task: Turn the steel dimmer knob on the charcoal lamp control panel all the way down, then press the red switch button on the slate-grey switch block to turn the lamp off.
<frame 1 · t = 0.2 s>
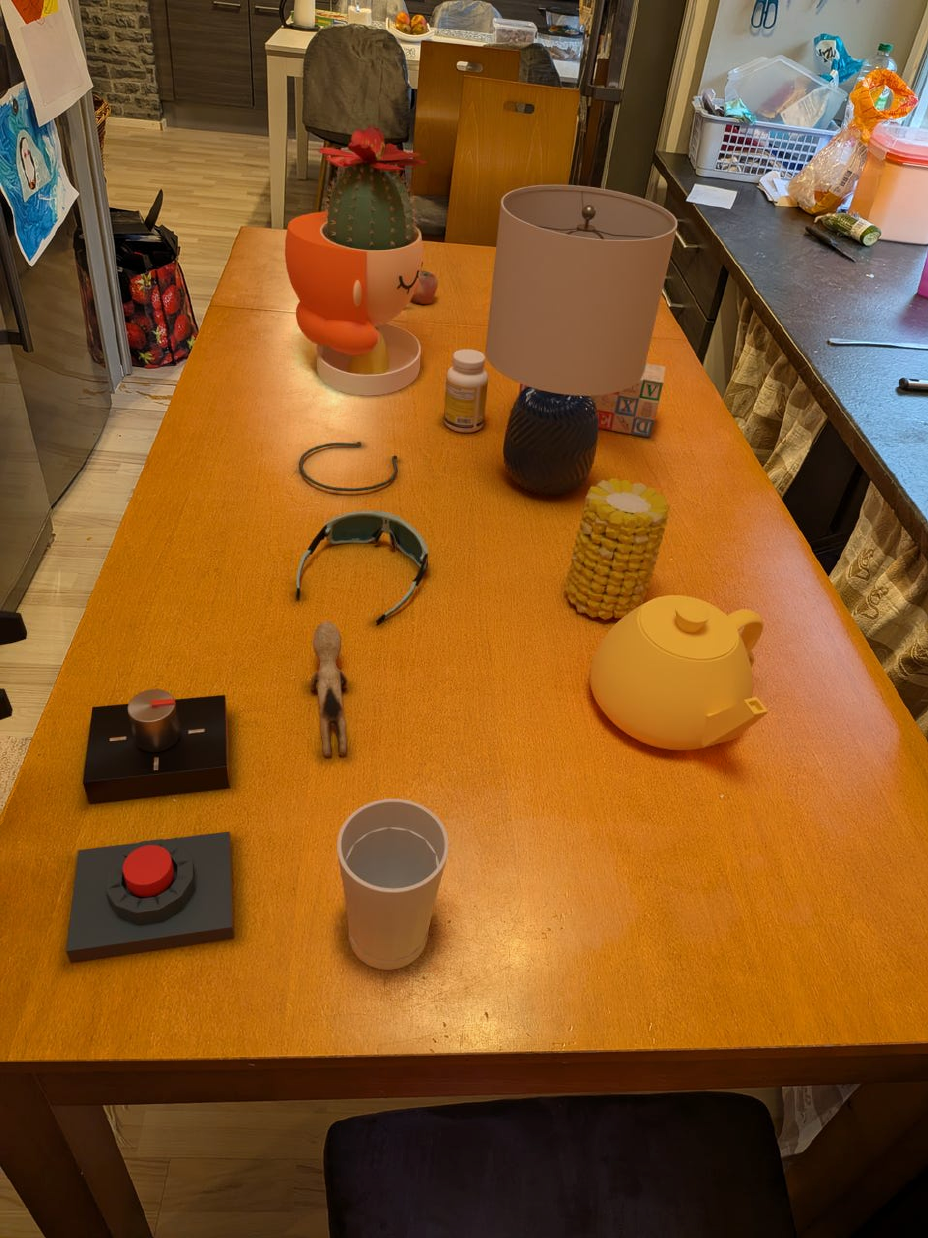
hand: (16, 662, 62), 21 cm above the table, tool horizontal, fingers open, 7 cm apart
pill bottle: (463, 425, 137), on the table
apple: (420, 303, 173), on the table
cup: (388, 934, 72), on the table
teapot: (681, 711, 94), on the table
food: (604, 598, 107), on the table
dimmer panel: (162, 757, 83), on the table
dimmer knob: (154, 719, 80), point 5 cm above the table, hinge at 0.0°
stack of blocks: (584, 418, 142), on the table
lamp: (543, 482, 126), on the table
switch button: (148, 871, 70), point 4 cm above the table, slide at 0.1 cm
potted cactus: (354, 366, 149), on the table
figurine: (329, 704, 90), on the table
sunglasses: (363, 578, 106), on the table
black headband: (348, 470, 124), on the table
switch block: (155, 899, 72), on the table
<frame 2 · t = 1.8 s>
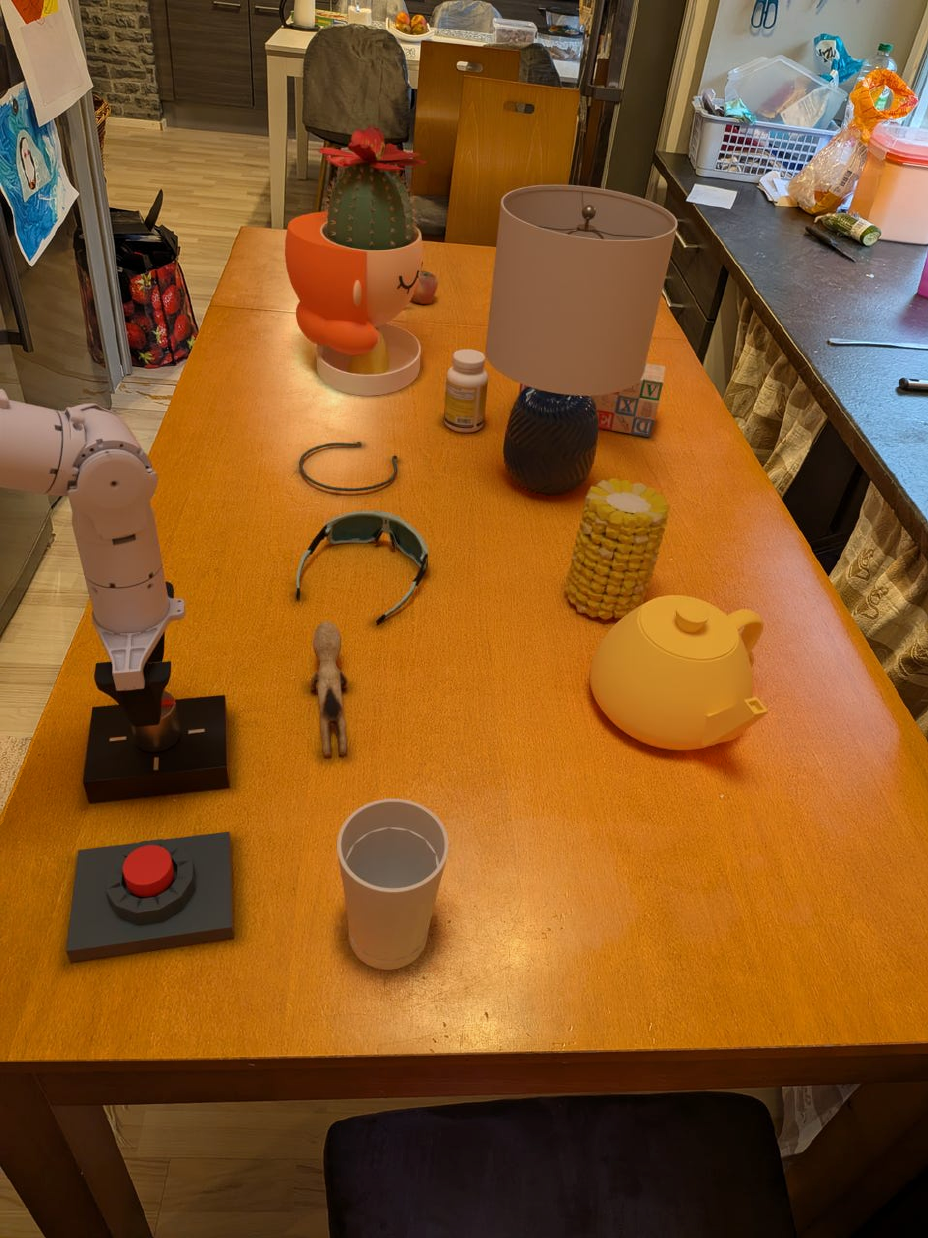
hand: (148, 690, 77), 9 cm above the table, tool pointing down, fingers open, 7 cm apart
nothing on the table moved.
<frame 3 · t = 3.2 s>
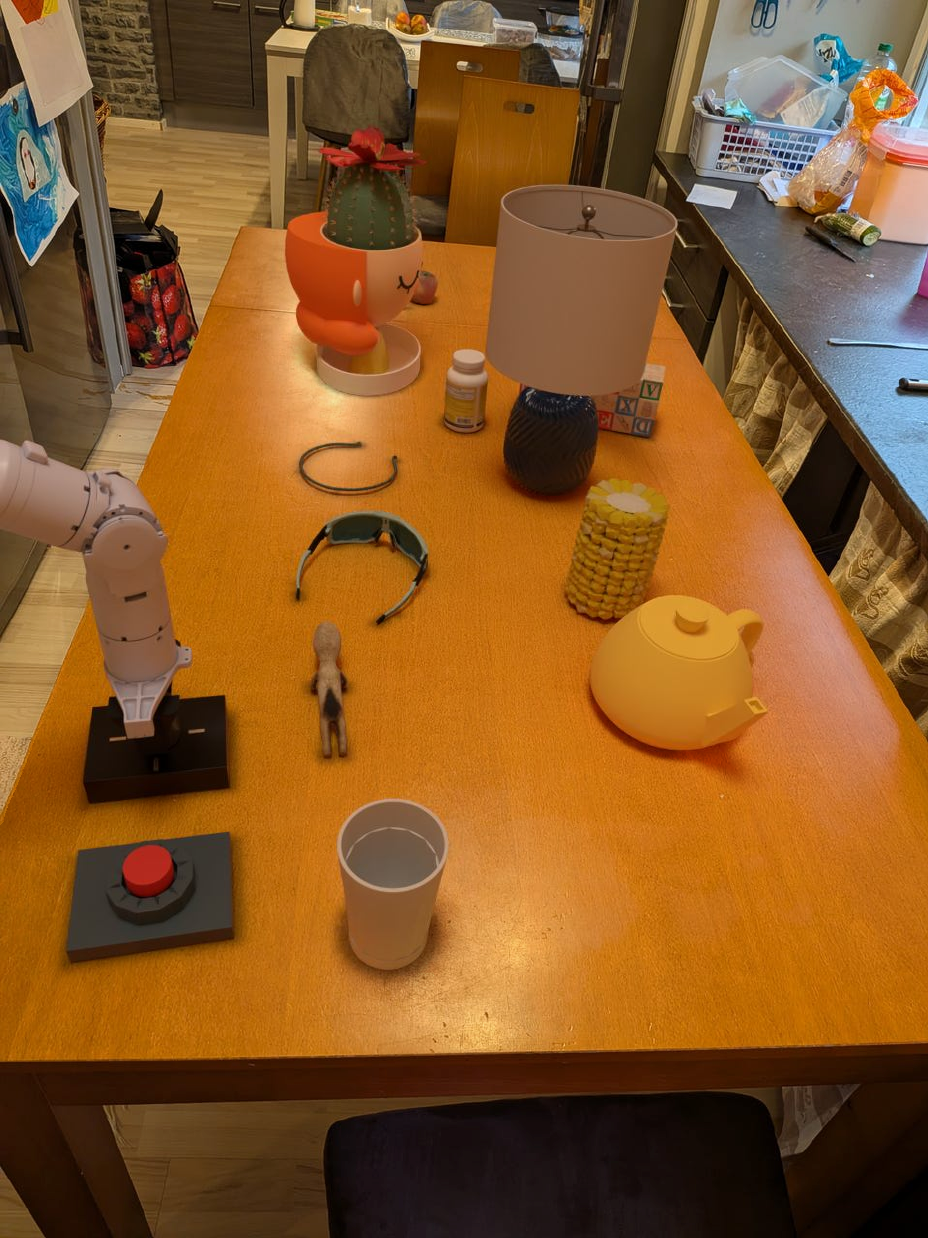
hand: (157, 732, 81), 4 cm above the table, tool pointing down, fingers closed on dimmer knob, 4 cm apart
dimmer knob: (154, 719, 80), point 5 cm above the table, hinge at -0.2°, touching gripper
everything else where it was.
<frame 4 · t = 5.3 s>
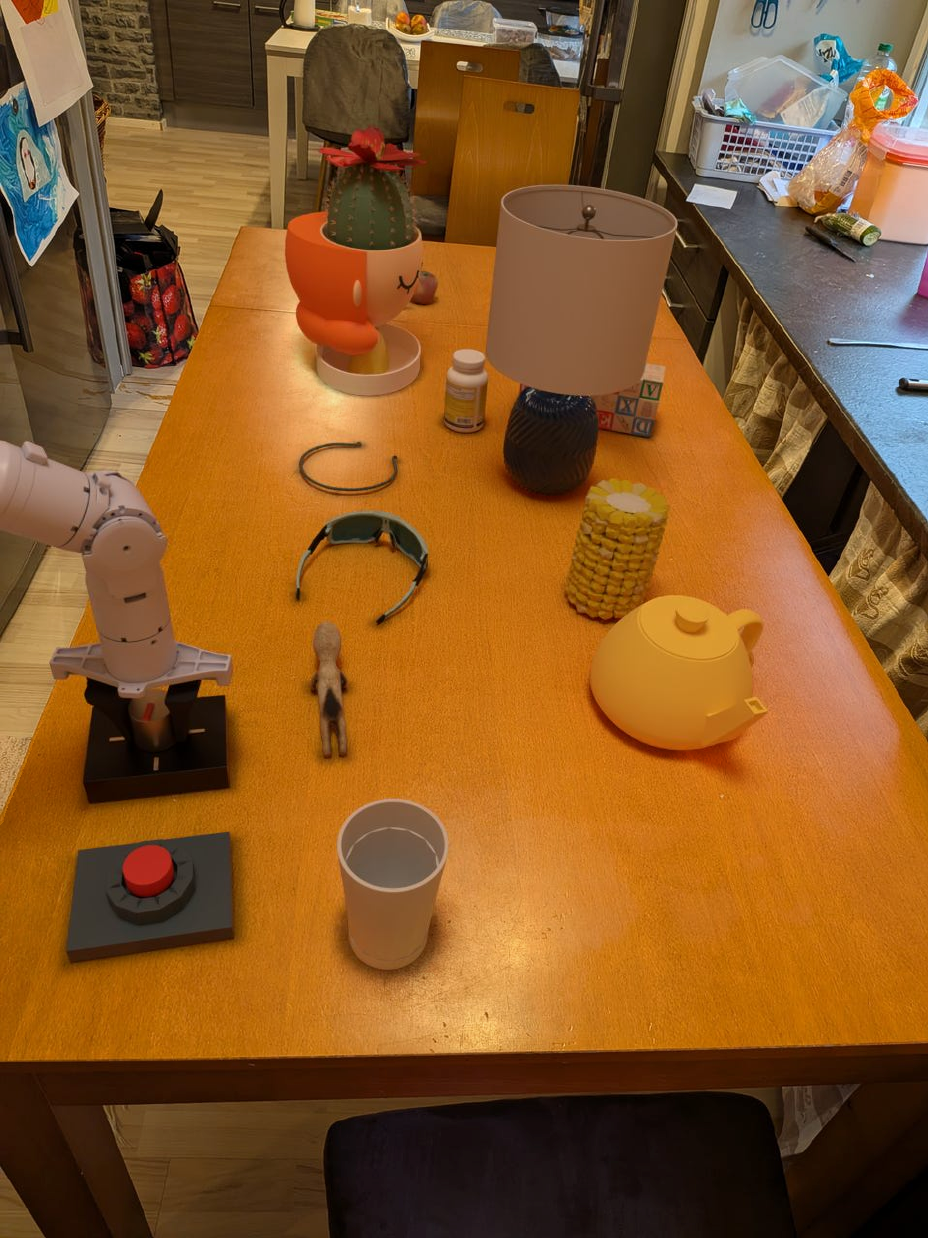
hand: (157, 732, 81), 3 cm above the table, tool pointing down, fingers closed on dimmer knob, 4 cm apart
dimmer knob: (154, 719, 80), point 5 cm above the table, hinge at -101.6°, touching gripper
everything else where it was.
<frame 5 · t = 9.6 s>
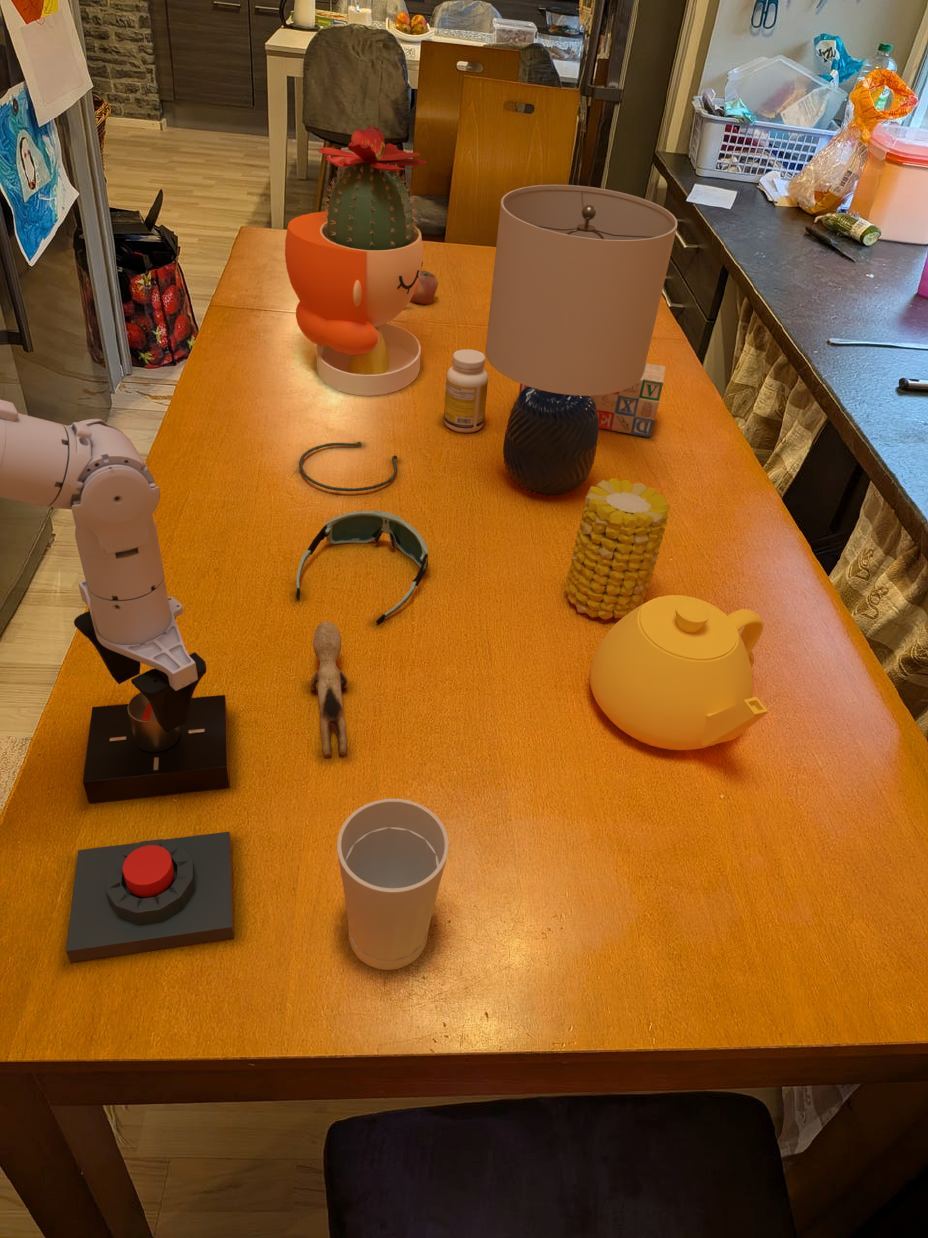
hand: (150, 700, 78), 8 cm above the table, tool pointing down, fingers open, 7 cm apart
dimmer knob: (154, 719, 80), point 5 cm above the table, hinge at -101.4°
everything else where it was.
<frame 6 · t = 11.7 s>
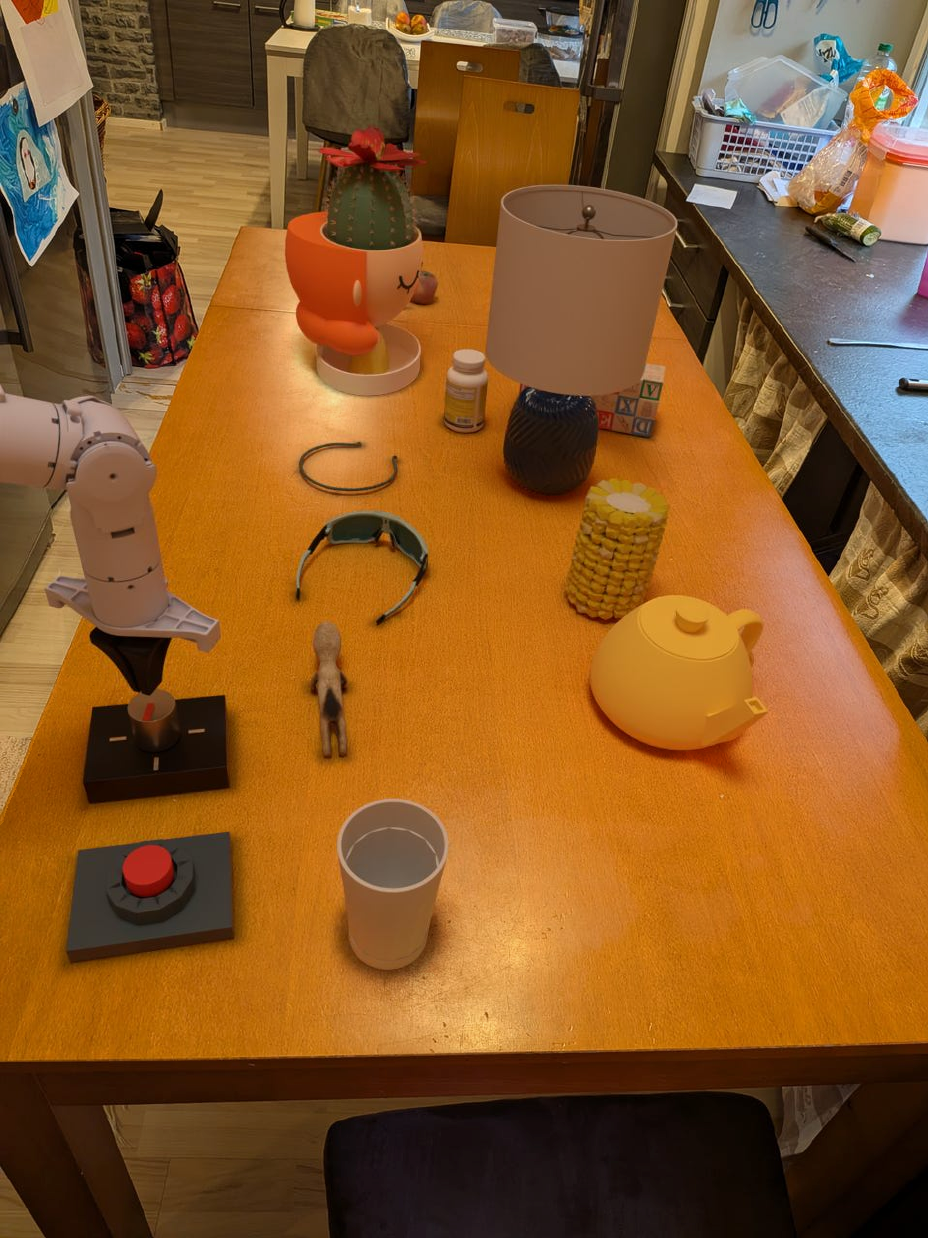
hand: (147, 685, 77), 9 cm above the table, tool pointing down, fingers closed
nothing on the table moved.
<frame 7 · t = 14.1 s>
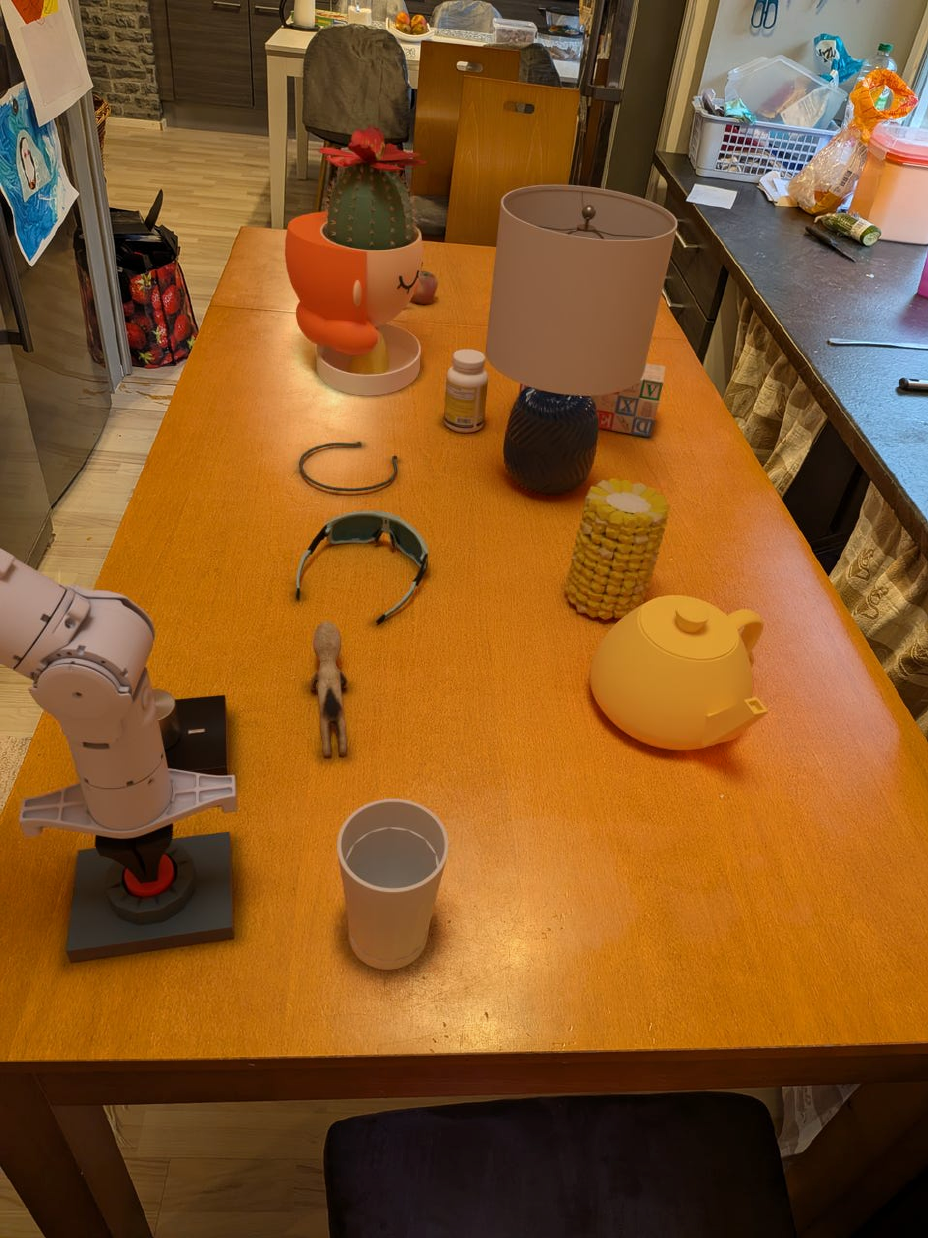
hand: (149, 871, 70), 4 cm above the table, tool pointing down, fingers closed, pressing on switch button
switch button: (150, 877, 70), point 3 cm above the table, slide at -0.8 cm, touching gripper
everything else where it was.
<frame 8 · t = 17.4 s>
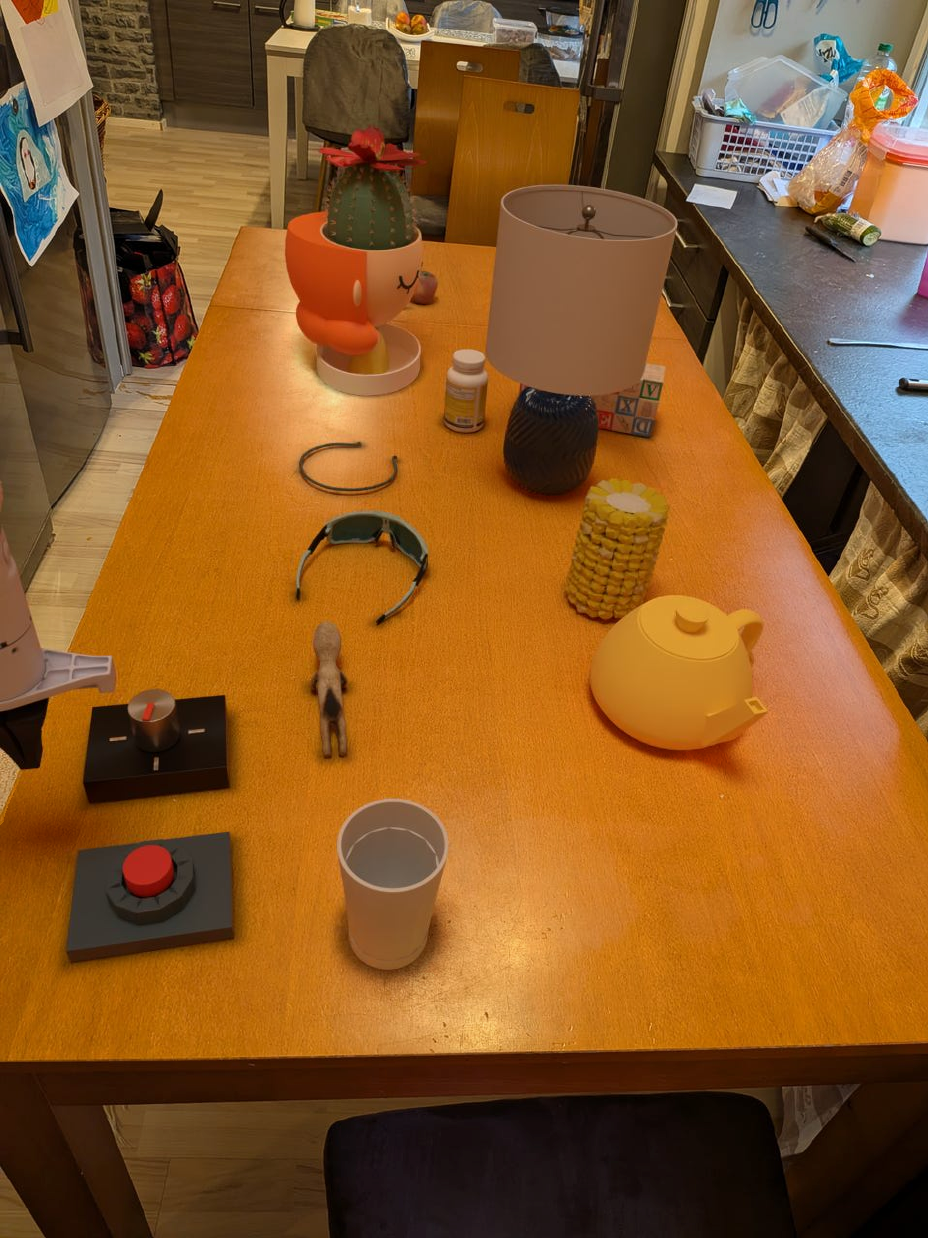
hand: (31, 759, 69), 10 cm above the table, tool pointing down, fingers closed
switch button: (148, 871, 70), point 4 cm above the table, slide at 0.1 cm
everything else where it was.
at the end: dimmer knob at -101° (first picture: +0°); switch button pushed in 1.2 cm at the most during the clip, back to where it started at the end; lamp moved 0.2 cm from its start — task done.
